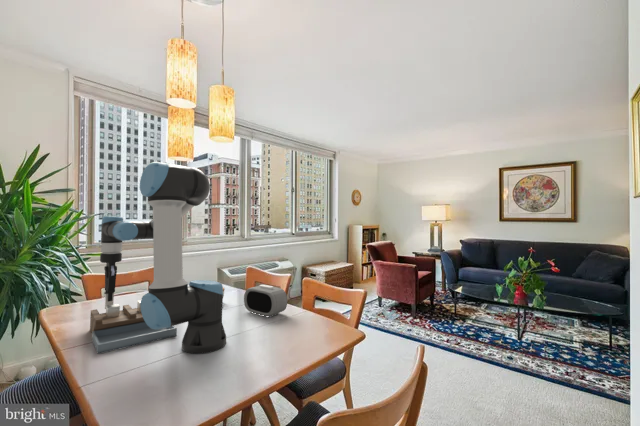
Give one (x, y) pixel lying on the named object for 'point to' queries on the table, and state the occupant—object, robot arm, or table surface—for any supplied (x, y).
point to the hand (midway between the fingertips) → (109, 308)
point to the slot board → (114, 319)
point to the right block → (139, 306)
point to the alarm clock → (265, 300)
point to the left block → (112, 310)
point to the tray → (128, 336)
